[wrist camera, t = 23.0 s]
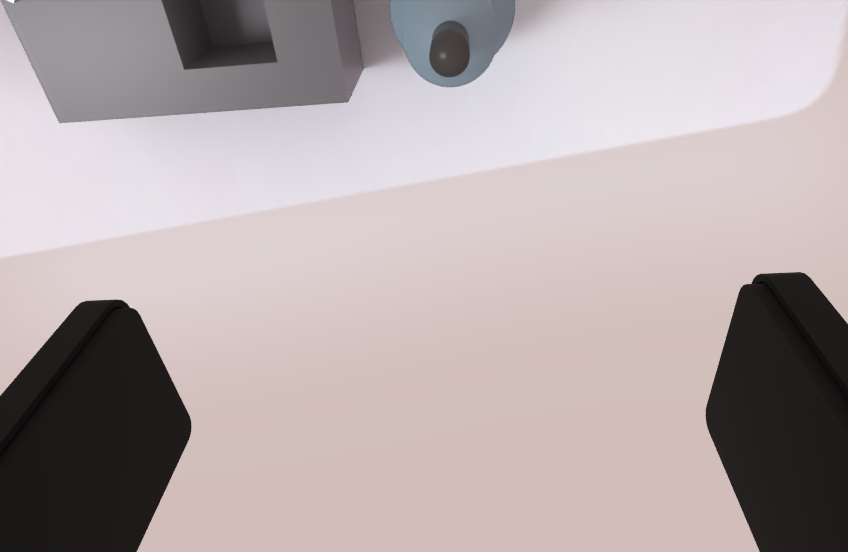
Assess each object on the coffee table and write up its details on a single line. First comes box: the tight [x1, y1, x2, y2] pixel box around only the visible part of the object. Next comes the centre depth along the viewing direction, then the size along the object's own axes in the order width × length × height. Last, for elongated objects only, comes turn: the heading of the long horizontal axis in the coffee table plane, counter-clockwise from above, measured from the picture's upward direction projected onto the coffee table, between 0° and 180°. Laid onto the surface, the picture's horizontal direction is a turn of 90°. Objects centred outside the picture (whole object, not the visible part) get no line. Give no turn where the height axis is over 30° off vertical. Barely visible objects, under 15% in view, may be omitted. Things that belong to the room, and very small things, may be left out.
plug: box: [390, 0, 515, 87], centre depth 28 cm, size 6×6×14 cm
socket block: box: [1, 0, 363, 123], centre depth 32 cm, size 17×10×7 cm, turn 95°
